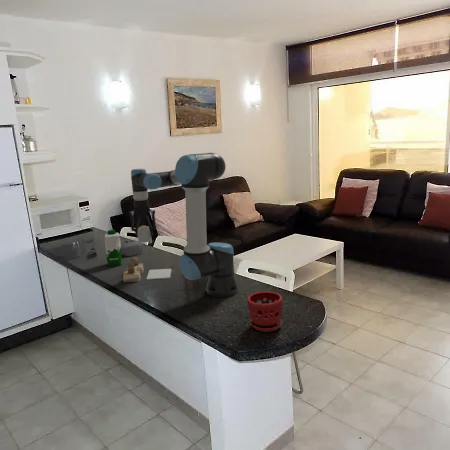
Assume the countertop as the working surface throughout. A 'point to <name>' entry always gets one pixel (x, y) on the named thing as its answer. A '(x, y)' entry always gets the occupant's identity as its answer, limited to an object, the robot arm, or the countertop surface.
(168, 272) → the mat
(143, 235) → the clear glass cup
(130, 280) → the plane body
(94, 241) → the countertop surface
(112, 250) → the milk carton
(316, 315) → the countertop surface
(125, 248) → the small grey backpack
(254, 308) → the plant pot
